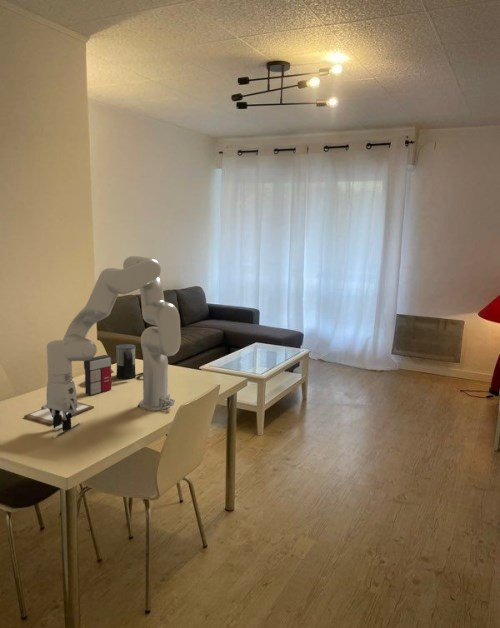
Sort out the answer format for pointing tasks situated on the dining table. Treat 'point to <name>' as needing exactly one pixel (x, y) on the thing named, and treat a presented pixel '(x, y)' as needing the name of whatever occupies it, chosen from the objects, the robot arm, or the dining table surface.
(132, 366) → the milk frother
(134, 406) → the dining table surface
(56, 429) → the picture light
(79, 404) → the clipboard
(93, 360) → the grey and red box
